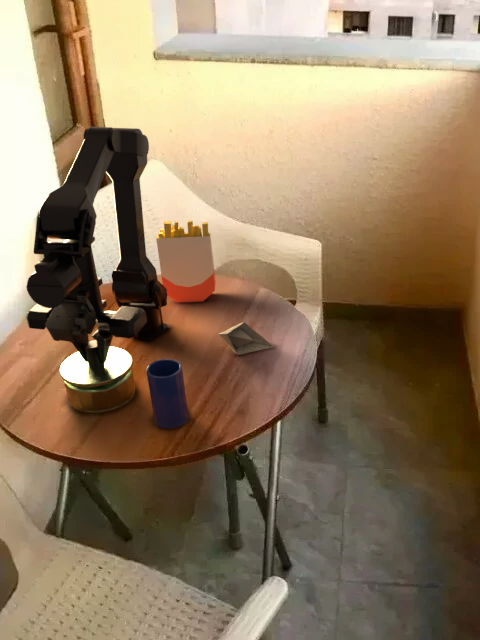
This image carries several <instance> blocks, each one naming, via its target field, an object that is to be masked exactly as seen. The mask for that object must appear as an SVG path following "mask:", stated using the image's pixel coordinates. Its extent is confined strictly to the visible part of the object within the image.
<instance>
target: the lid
mask: <svg viewBox="0 0 480 640" xmlns="http://www.w3.org/2000/svg"><path fill="white" fill-rule="evenodd" d="M84 347H85V352H86V356H87V361H88V362H85V361H84V359H83V358H82V356H81V355H80V354H79V352H78V351H77V352H74V353H73V354H71V355H70V356H68V357H67V358H66V359H64V361H63V362H62V363H61V365H60V367H59V373H60V377H61V378H62V380H63V382H64V381H66V382H67V383H69V384H72V385H75V386H81V387H94V386H101V385H105V384H109V383H112V382H114V381H116V380H118V379H120V378H122V377H123V376H125V375H126V374H127V373H128V372H129V371H130V369H131V368H132V369H133V364H134V362H133V357H132V355H131V354H130V353H129V352H128V351H127V350H125V349H122V348H120V347H116V346H110V349H109V352H108V356H107V360H106V362H105V363H104V364H102V363H101V361H100V358H99V352H98V347H97V341H96V340H95V339H94V340H93V339H92V340H89V342H87V343H85V345H84Z"/></svg>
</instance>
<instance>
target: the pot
mask: <svg viewBox="0 0 480 640" xmlns="http://www.w3.org/2000/svg"><path fill="white" fill-rule="evenodd" d="M134 378H135V377H134V372H133V367H132V368H131V369H130V371H129V372H128V373H127V374H126V375H125V376H123V377H122V378H120V379H118V380H116V381H114V382H112V383H109V384H105V385H101V386H94V387H81V386H75V385H72V384H69V383H67V382H66V381H64V380H63V382H64V386H65V390H66V391H65V392H66V394H67V398H68V401H69V404H70V406H71V407H72V408H73V409H74V410H76V411H78V412H80V413H83V414H91V415H94V414H95V415H96V414H98V415H99V414H105V413H109V412H114V411H116V410H118V409H120V408H123V407H124V406H126V405H128V403H130V402H131V401H132V400H133V398H134V397H135V394H136V385H135V384H136V383H135V379H134Z"/></svg>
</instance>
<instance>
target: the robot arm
mask: <svg viewBox="0 0 480 640" xmlns="http://www.w3.org/2000/svg"><path fill="white" fill-rule="evenodd" d="M149 145H150V142H149V139H148V136H147V135H146V134H143V131H142V130H141V129H140V128H130V127H129V128H128V127H112V126H90V127H88V128H85V130H84V131H83V142H82V144H81V146H80V148H79V151H78V152H77V154H76V157H75V159H74V161H73V164H72V165H71V168H70V170H69V172H68V174H67V176H66V179H65V181H64V183H63V184H62V185H61V186H60V187H58V188H57V189H55V190H53V191H52V192H50V193H49V194H48V196H47V197H46V198H45V200H44V201H43V202H42V204H41V206H40V208H39V210H38V212H37V217H36V226H35V235H34V243H33V254H34V255H43V258H42V259H41V260H39V261H37V262H36V263H35V264H34V266H33V267H34V272H33V273H32V274H31V275H30V276H29V277H28V278H27V283H26V287H25V288H26V291H27V294H28V296H29V297H30V298H31V300H32V301H33V302H34V303H35V305H34V306H33V307H32V308H30V309H29V310H28V311H27V312H26V317H25V318H26V322H27V326H28V329H33V330H45V329H46V330H47V331H48V333H49V334H50V335H49V336H50V337H51V338H52V340H53V341H55V342H60V341H61V342H69V343H71V344H72V345H73V347H74V348H75V349H76V351H77V352H79V354H80V355H81V356H82V358H83V359H84V361H85V362H88V361H87V356H86V352H85V347H84V345H85V343H87V342H89V341H90V338H89V335H91V334H92V333H93V331H94V329H95V327H97V330H95V332H94V333H93V334H92V335H91V338H92V339H94V340H96V341H97V347H98V352H99V358H100V361H101V363H102V364H104V363H105V362H106V360H107V356H108V352H109V349H110V347H111V344H112V340H113V337H115V338H124V339H132V338H137V339H140V340H143V341H146V342H148V341H151V340H152V339H154V338H156V337H157V336H159V335H160V334H162V333H163V332H165V331H167V330H168V329H170V324H167V323H164V319H163V312H162V308H163V307H166V306H167V305H168V301H167V300H168V295H167V289H166V288H165V287H164V286H163V283H162V282H161V281H160V280H159V279H158V274H157V273H158V272H157V269H156V267H155V266H154V264H153V263H152V262H151V261H150V260H151V259H149V258H148V256H147V248H146V235H145V226H144V225H145V224H144V215H143V213H144V212H143V203H142V192H141V177H142V175H143V173H144V171H145V168H147V165H148V155H149V151H150V146H149ZM106 174H107V175H108V177H109V178H110V180H111V181H112V189H113V190H112V191H113V200H114V201H113V202H114V209H115V210H114V211H115V220H116V228H117V238H118V239H117V240H118V249H119V250H118V251H119V257H120V258H119V261H118V263H117V265H116V267H115V269H114V270H112V272H111V279H112V283H111V292H112V295H113V297H114V299H115V302H116V304H117V307H118V308H119V309H118V310H116V311H115V310H114V311H113V310H104V309H105V308H106V307H107V306H108V303H107V300H106V299H102V294H101V289H100V287H101V286H102V285H103V284H104V283H103V277H98V275H97V269H96V263H95V258H94V253H93V247H92V244H93V243H94V242H95V241H96V237H95V236H94V234H95V228H96V225H97V222H96V220H97V215H98V214H97V213H96V209H95V207H94V204H95V199H96V196H97V194H98V192H99V189H100V188H101V184H102V183H103V180H104V178H105V176H106ZM48 239H49V240H64V241H63V242H60V241H48Z"/></svg>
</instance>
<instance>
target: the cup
mask: <svg viewBox="0 0 480 640" xmlns="http://www.w3.org/2000/svg"><path fill="white" fill-rule="evenodd" d="M145 371H146V377H147V384H148V390H149V396H150V402H151V407H152V414H153V419H154V423H155V425H156V426H158V427H159V428H161V429H176V428H179V427H181V426H183V425H184V424H186V423H187V422H188V420H189V410H188V409H189V408H188V401H187V394H186V387H185V379H184V370H183V364H182V363H181V362H180V361H179V360H177V359H174V358H162V359H158V360H154V361H152V362H150V363H149V364H148V365H147V367H146V369H145Z"/></svg>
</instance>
